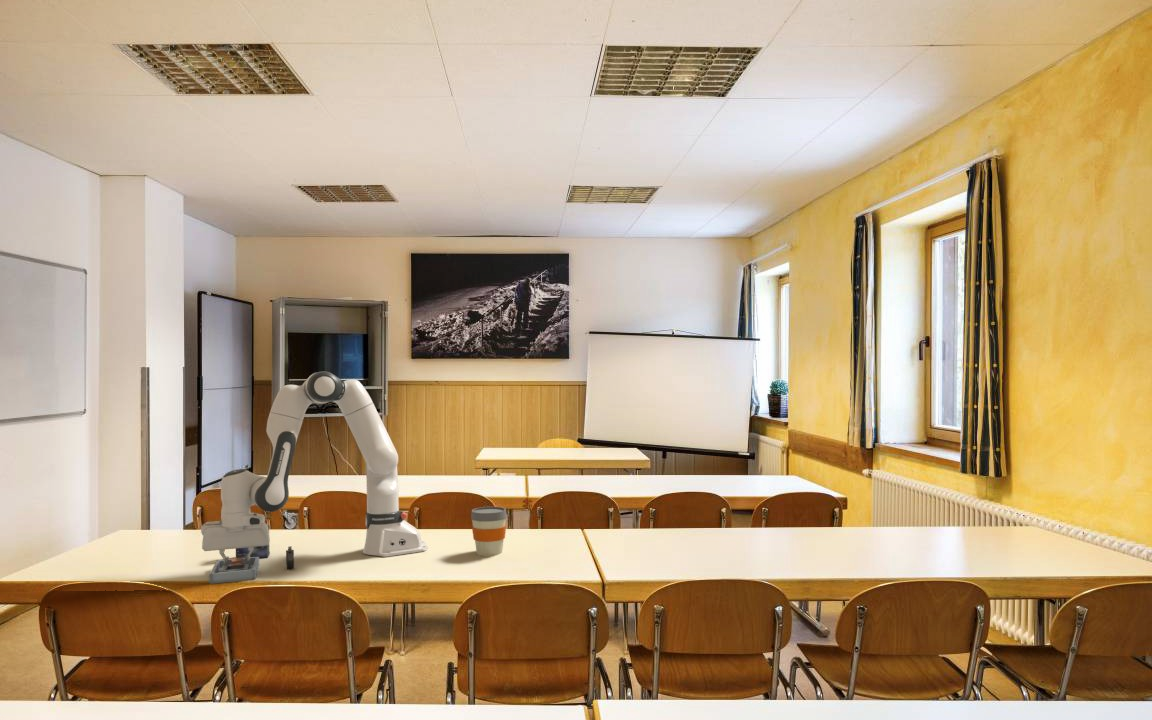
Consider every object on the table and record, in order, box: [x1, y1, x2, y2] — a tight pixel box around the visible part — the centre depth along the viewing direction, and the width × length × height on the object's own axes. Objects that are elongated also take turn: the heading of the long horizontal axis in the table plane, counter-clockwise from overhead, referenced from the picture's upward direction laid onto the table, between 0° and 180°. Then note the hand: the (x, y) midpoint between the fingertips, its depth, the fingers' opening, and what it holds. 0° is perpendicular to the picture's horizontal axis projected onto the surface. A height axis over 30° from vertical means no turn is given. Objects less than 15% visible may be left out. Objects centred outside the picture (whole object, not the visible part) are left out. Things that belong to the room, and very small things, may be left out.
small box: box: [235, 524, 271, 560], centre depth 264 cm, size 11×6×10 cm, turn 105°
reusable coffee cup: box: [470, 506, 508, 557], centre depth 265 cm, size 13×13×15 cm
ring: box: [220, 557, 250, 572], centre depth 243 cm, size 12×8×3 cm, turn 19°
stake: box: [285, 546, 295, 571], centre depth 248 cm, size 2×3×7 cm
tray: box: [209, 557, 260, 585], centre depth 243 cm, size 13×18×3 cm
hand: (236, 561), depth 246 cm, fingers open, 5 cm apart
